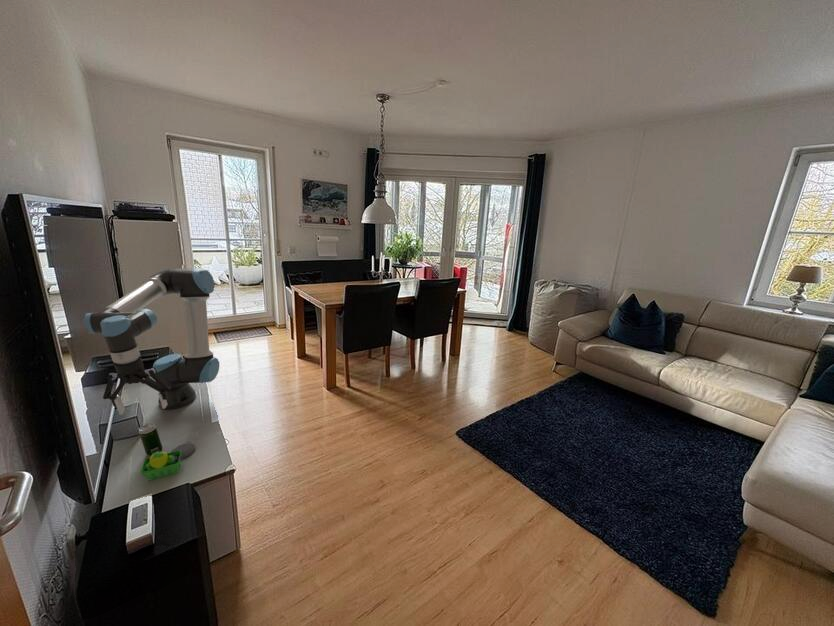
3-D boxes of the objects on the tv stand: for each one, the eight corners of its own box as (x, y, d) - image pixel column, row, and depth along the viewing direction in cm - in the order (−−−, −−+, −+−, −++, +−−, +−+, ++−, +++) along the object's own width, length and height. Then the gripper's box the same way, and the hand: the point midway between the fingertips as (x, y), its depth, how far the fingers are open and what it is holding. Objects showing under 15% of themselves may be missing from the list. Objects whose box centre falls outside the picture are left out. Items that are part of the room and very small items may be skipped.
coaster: (175, 447, 140) (175, 445, 140) (197, 443, 142) (197, 441, 142) (167, 461, 133) (167, 459, 133) (191, 457, 135) (190, 455, 134)
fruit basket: (184, 459, 134) (177, 436, 130) (180, 476, 126) (173, 452, 122) (149, 468, 130) (140, 444, 126) (142, 486, 122) (133, 461, 118)
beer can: (165, 450, 138) (157, 425, 134) (150, 459, 134) (141, 433, 130) (159, 445, 141) (151, 421, 137) (143, 453, 137) (135, 428, 133)
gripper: (77, 369, 114) (98, 421, 122) (164, 359, 121) (179, 410, 129) (90, 358, 121) (109, 409, 129) (171, 350, 128) (185, 398, 135)
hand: (144, 409), depth 129 cm, fingers open, 13 cm apart
